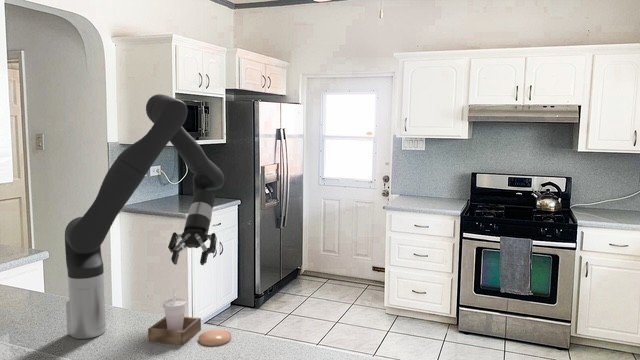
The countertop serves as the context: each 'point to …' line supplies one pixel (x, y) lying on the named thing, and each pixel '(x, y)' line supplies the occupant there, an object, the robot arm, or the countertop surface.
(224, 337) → the peach glossy dome
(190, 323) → the crate
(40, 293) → the countertop surface
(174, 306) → the smoothie
